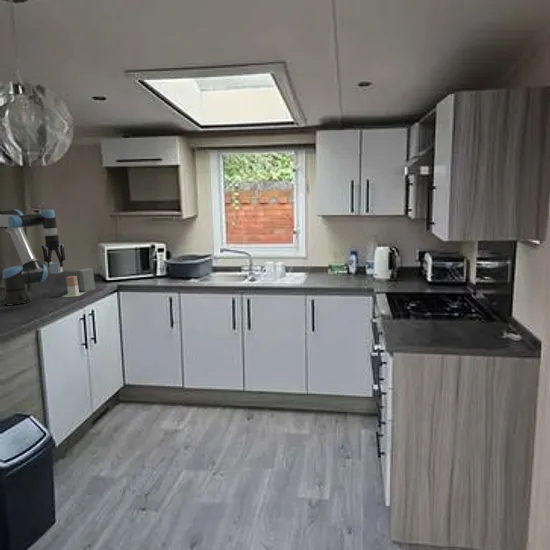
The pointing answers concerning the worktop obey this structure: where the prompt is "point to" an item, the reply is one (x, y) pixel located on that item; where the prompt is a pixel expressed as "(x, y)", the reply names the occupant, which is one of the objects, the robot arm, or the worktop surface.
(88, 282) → the skincare box
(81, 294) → the baseplate
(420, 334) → the worktop surface
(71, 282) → the brick
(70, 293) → the brick
